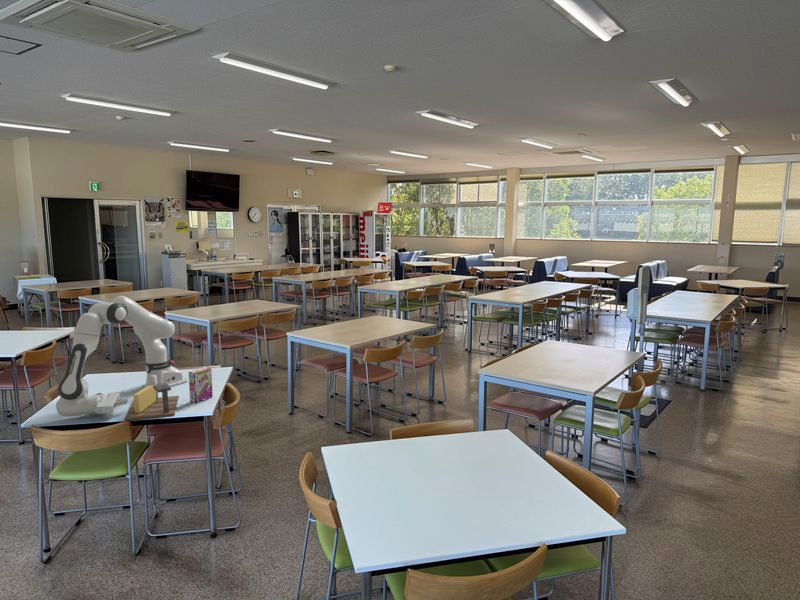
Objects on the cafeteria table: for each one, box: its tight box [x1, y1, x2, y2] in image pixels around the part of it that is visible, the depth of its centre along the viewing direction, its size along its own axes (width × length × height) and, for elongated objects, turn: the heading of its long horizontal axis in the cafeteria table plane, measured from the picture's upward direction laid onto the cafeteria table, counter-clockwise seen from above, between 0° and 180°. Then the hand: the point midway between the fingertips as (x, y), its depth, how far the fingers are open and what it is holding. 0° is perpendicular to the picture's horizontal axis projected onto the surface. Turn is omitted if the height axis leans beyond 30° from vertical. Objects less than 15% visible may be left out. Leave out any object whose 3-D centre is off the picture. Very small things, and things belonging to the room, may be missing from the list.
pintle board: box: [123, 383, 180, 422], centre depth 270 cm, size 28×22×14 cm
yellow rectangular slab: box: [133, 375, 159, 413], centre depth 270 cm, size 20×3×13 cm, turn 178°
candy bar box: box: [188, 366, 213, 403], centre depth 282 cm, size 11×5×16 cm, turn 149°
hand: (127, 401), depth 265 cm, fingers closed
